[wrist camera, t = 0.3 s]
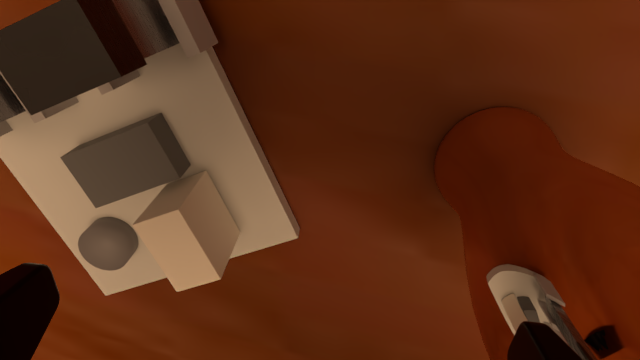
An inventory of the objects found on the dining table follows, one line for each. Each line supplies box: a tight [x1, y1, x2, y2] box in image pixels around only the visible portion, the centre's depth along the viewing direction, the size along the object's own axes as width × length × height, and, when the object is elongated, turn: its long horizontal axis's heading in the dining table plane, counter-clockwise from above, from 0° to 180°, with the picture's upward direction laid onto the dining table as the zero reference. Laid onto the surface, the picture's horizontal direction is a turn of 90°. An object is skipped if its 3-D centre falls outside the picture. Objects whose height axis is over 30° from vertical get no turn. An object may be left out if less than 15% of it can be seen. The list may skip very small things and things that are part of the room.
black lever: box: [0, 0, 179, 115], centre depth 16 cm, size 2×3×7 cm
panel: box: [0, 0, 300, 296], centre depth 22 cm, size 14×14×4 cm
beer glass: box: [434, 107, 640, 360], centre depth 15 cm, size 7×7×15 cm
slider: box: [132, 171, 240, 292], centre depth 21 cm, size 4×2×4 cm, turn 22°
